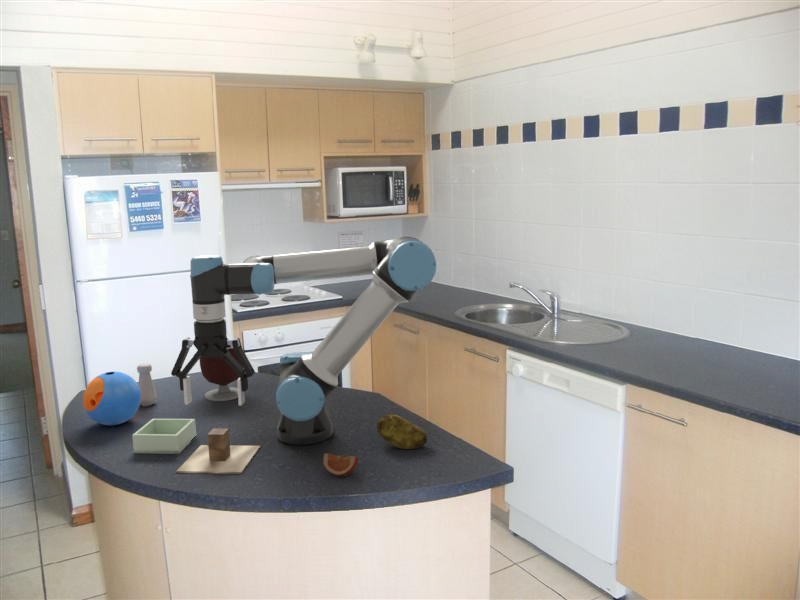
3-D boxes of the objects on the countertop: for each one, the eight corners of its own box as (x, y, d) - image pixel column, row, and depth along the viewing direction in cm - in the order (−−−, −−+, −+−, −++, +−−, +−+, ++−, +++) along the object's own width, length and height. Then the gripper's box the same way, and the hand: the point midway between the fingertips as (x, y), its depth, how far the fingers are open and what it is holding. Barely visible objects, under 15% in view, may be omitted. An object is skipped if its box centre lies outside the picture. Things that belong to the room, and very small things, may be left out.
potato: (413, 456, 167) (412, 426, 165) (372, 446, 174) (371, 416, 172) (430, 445, 173) (430, 416, 172) (390, 435, 181) (390, 407, 179)
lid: (260, 449, 175) (258, 420, 173) (241, 475, 159) (239, 444, 158) (201, 448, 176) (199, 419, 175) (176, 474, 160) (174, 443, 159)
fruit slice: (319, 477, 156) (318, 457, 155) (331, 465, 162) (330, 446, 162) (351, 482, 153) (350, 461, 153) (363, 470, 160) (362, 450, 159)
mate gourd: (232, 385, 228) (229, 329, 224) (253, 394, 218) (250, 335, 214) (190, 396, 218) (185, 336, 214) (210, 406, 208) (205, 344, 204)
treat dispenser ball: (153, 421, 195) (148, 371, 192) (101, 437, 183) (96, 384, 181) (126, 410, 205) (122, 362, 202) (76, 425, 193) (70, 374, 191)
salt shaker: (161, 403, 211) (157, 363, 209) (146, 408, 207) (142, 368, 204) (149, 400, 215) (145, 361, 212) (134, 405, 210) (130, 365, 208)
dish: (196, 436, 183) (195, 418, 182) (178, 453, 171) (177, 435, 170) (154, 435, 184) (152, 418, 183) (134, 453, 172) (132, 435, 171)
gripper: (153, 322, 158) (159, 407, 162) (255, 323, 156) (260, 409, 160) (166, 316, 166) (172, 397, 169) (264, 316, 164) (268, 399, 167)
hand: (215, 403), depth 165 cm, fingers open, 13 cm apart
